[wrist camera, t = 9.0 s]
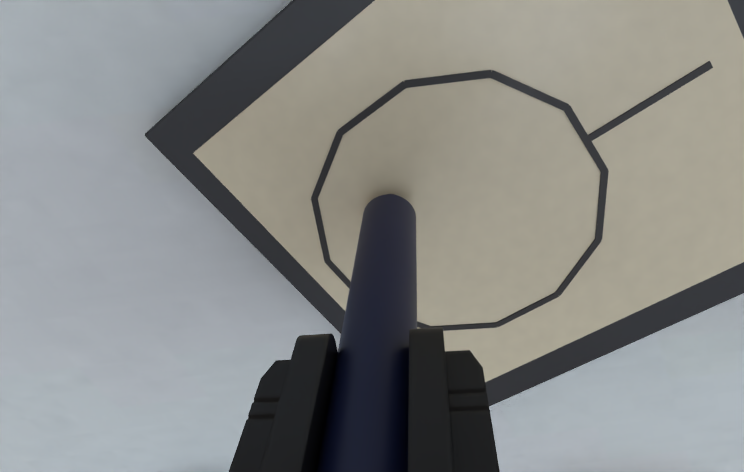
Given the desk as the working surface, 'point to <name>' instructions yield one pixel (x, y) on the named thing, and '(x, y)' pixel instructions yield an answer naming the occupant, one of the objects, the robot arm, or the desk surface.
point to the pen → (375, 347)
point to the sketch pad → (490, 163)
